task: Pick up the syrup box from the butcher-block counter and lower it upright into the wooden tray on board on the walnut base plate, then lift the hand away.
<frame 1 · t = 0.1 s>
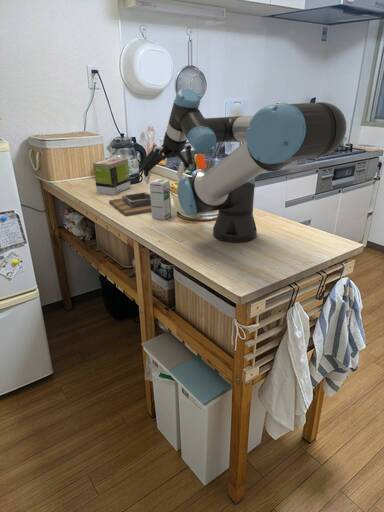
hand: (162, 179, 141), 15 cm above the table, tool tilted 35°, fingers open, 13 cm apart
tea box: (114, 191, 185), on the table
syrup box: (161, 217, 149), on the table
wooden tray on board: (139, 205, 162), on the table
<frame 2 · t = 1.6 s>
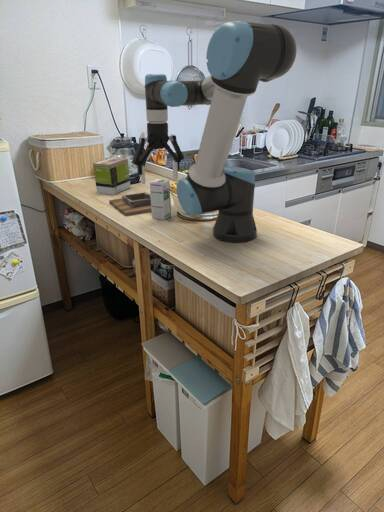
hand: (159, 181, 143), 14 cm above the table, tool pointing down, fingers open, 13 cm apart
nothing on the table moved.
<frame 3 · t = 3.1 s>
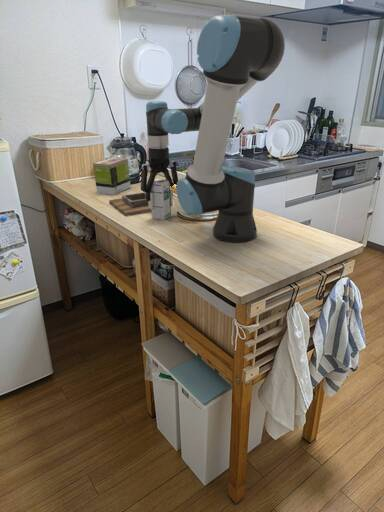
hand: (160, 206, 147), 4 cm above the table, tool pointing down, fingers closed on syrup box, 8 cm apart
syrup box: (161, 217, 149), on the table, touching gripper
everything else where it was.
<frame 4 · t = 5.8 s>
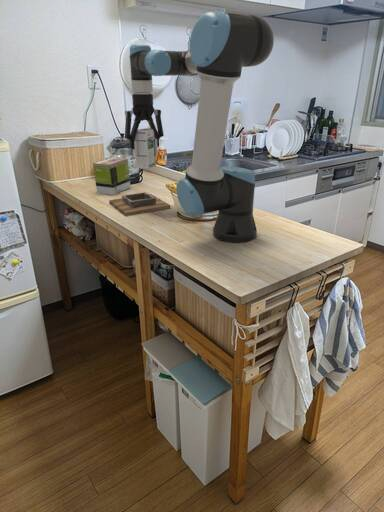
hand: (145, 156, 147), 22 cm above the table, tool pointing down, fingers closed on syrup box, 8 cm apart
syrup box: (146, 167, 149), point 18 cm above the table, touching gripper
everything else where it was.
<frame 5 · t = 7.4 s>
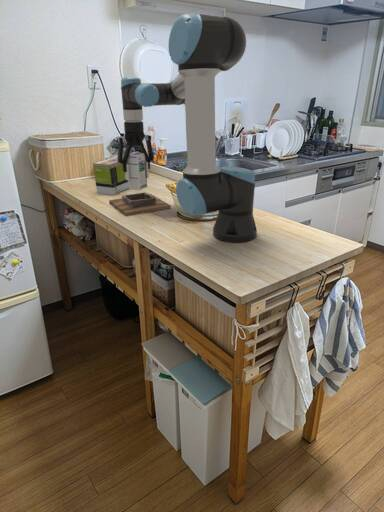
hand: (137, 178, 157), 12 cm above the table, tool pointing down, fingers closed on syrup box, 8 cm apart
syrup box: (137, 188, 159), point 8 cm above the table, touching gripper
everything else where it was.
when the fingers open (7 cm above the table, at t = 8.9 s): syrup box drops 1 cm, resting on wooden tray on board.
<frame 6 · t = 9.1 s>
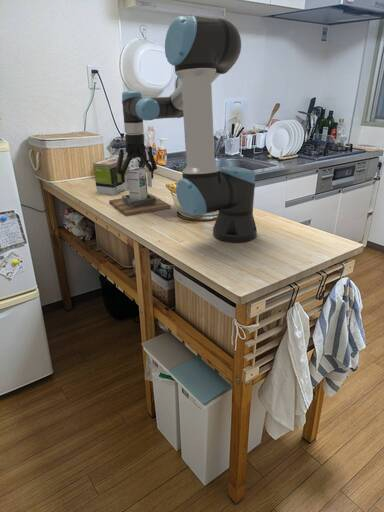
hand: (138, 188, 158), 8 cm above the table, tool pointing down, fingers open, 10 cm apart
syrup box: (138, 203, 161), point 1 cm above the table, touching wooden tray on board
everything else where it was.
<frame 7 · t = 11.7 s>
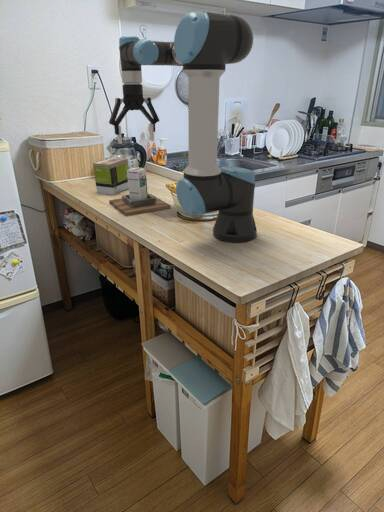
hand: (136, 142, 150), 27 cm above the table, tool pointing down, fingers open, 13 cm apart
nothing on the table moved.
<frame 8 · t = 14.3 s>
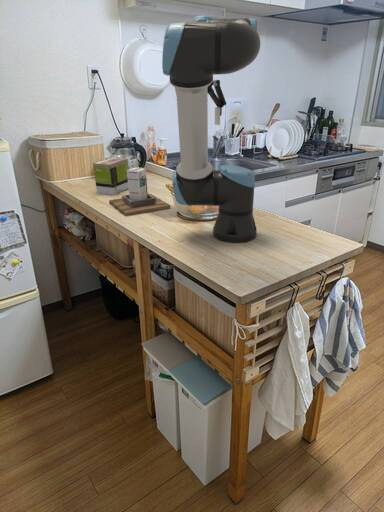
hand: (202, 125, 148), 33 cm above the table, tool pointing down, fingers open, 13 cm apart
nothing on the table moved.
at the end: syrup box 0.1 cm off-centre on the wooden tray on board, point 1.3 cm above the wooden tray on board's base; syrup box tilted 0°; the gripper is holding nothing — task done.
